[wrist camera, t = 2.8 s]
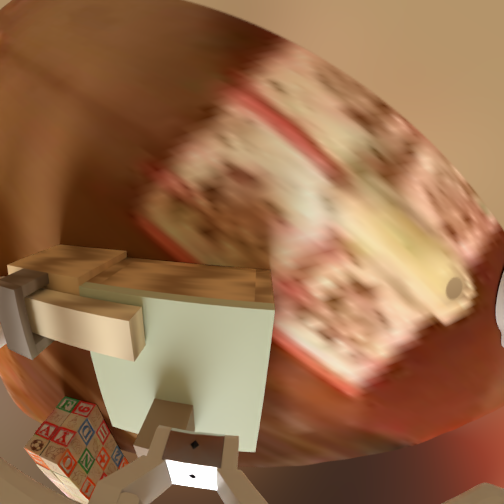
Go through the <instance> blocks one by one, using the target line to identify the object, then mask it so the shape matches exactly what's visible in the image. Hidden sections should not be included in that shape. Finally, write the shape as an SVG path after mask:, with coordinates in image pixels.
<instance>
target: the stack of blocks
mask: <svg viewBox="0 0 504 504" xmlns="http://www.w3.org/2000/svg"><path fill="white" fill-rule="evenodd" d="M24 448H25V449H26V451H27V452H28V453H29V455H30V456H31V457H32V458H33V460H34V461H35V462H36V465H37V466H38V467H39V468H40V469H41V470H42V472H43V473H44V474H45V475H46V476H48V477H49V479H50V480H51V481H52V482H54V484H55V485H56V486H57V487H59V489H60V490H61V491H62V492H63V493H64V494H65V495H66V496H67V497H69V498H71V499H74V500H76V501H78V502H81V503H83V504H88V502H89V500H90V498H91V496H92V493H93V491H94V489H95V487H96V485H97V483H98V481H99V480H101V479H103V478H105V477H107V476H109V475H110V474H112V473H114V472H116V471H117V470H119V469H121V468H122V467H124V466H126V465H128V464H129V463H128V461H127V459H126V458H125V456H124V455H123V454H122V452H121V450H120V448H119V447H118V445H117V443H116V442H115V440H114V438H113V436H112V435H111V433H110V430H109V428H108V427H107V425H106V423H105V421H104V419H103V417H102V414H101V412H100V410H99V408H98V406H97V405H96V404H93V403H89V402H85V401H81V400H77V399H73V398H70V397H66V396H65V397H64V398H63V399H62V400H61V401H60V403H59V404H58V405H57V406H56V409H54V410H53V412H52V413H51V414H50V415H49V416H48V418H47V419H46V420H45V421H44V422H43V423H42V424H41V426H40V427H39V428H38V430H37V431H36V432H35V434H34V435H33V437H32V438H31V439H30V440H29V441H28V443H27V444H26V445H25V447H24Z"/></svg>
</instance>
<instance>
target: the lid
mask: <svg viewBox="0 0 504 504" xmlns="http://www.w3.org/2000/svg"><path fill="white" fill-rule="evenodd" d="M79 293H80V296H82V297H88V298H93V299H98V300H104V301H109V302H115V303H121V304H127V305H133V306H140V307H142V314H143V325H144V335H145V344H146V345H145V347H144V348H143V350H142V351H141V353H140V354H139V356H138V357H137V359H136V360H135V362H133V361H129V360H124V359H120V358H116V357H112V356H108V355H104V354H100V353H96V352H92V351H90V353H91V357H92V361H93V365H94V369H95V373H96V376H97V380H98V383H99V387H100V390H101V393H102V397H103V400H104V403H105V406H106V409H107V412H108V415H109V418H110V420H111V423H112V426H113V427H116V428H120V429H123V430H126V431H130V432H133V433H137V434H138V436H137V438H136V440H135V442H134V445H133V446H134V448H135V451H136V454H137V456H138V458H139V457H141V456H142V455H145V456H147V453H148V450H149V448H150V445H151V442H152V440H153V437H154V434H155V431H156V429H157V427H158V426H159V425H162V426H167V427H172V428H177V429H182V430H188V431H193V432H204V433H213V434H225V435H233V436H239V448H238V451H245V452H255V450H256V444H257V438H258V431H259V425H260V418H261V412H262V405H263V398H264V391H265V384H266V377H267V370H268V362H269V355H270V347H271V339H272V331H273V323H274V315H275V306H274V303H262V302H249V301H237V300H226V299H216V298H206V297H196V296H187V295H178V294H170V293H161V292H153V291H146V290H138V289H131V288H124V287H117V286H110V285H104V284H97V283H91V282H85V283H83V284H82V285H80V286H79Z"/></svg>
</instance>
